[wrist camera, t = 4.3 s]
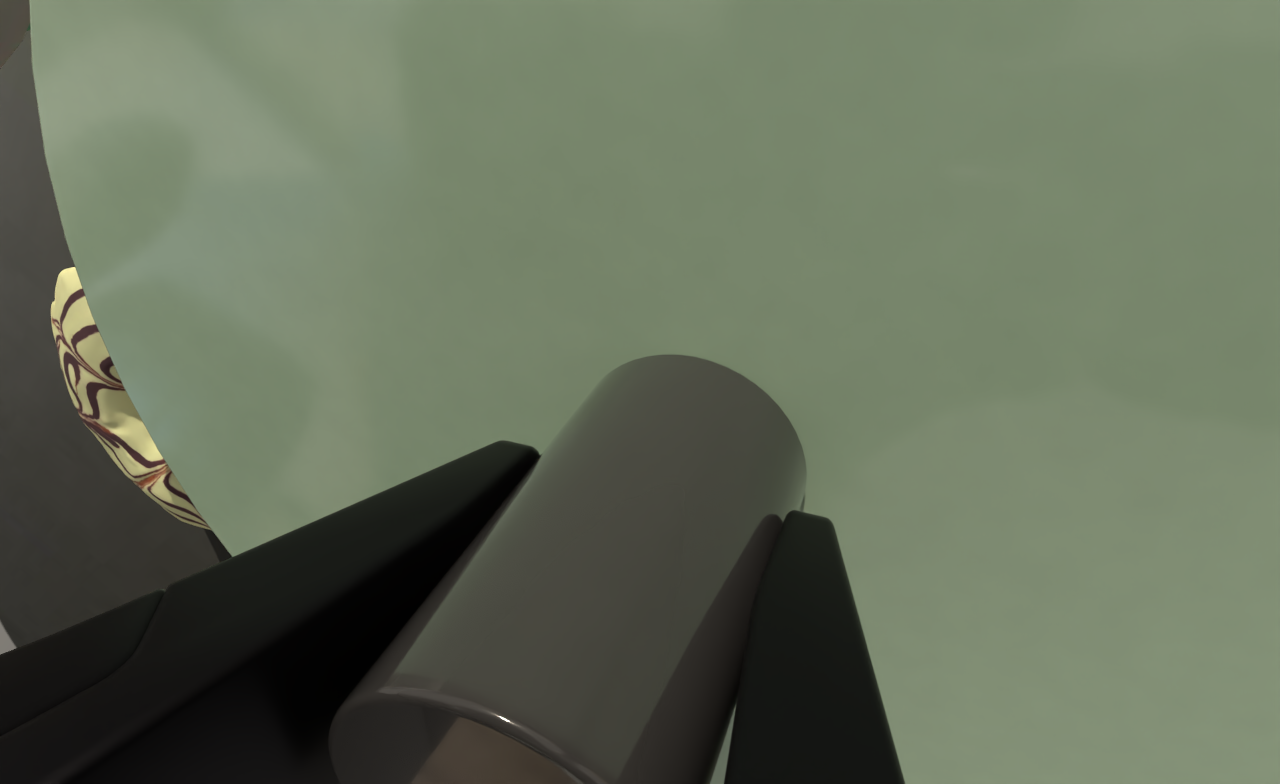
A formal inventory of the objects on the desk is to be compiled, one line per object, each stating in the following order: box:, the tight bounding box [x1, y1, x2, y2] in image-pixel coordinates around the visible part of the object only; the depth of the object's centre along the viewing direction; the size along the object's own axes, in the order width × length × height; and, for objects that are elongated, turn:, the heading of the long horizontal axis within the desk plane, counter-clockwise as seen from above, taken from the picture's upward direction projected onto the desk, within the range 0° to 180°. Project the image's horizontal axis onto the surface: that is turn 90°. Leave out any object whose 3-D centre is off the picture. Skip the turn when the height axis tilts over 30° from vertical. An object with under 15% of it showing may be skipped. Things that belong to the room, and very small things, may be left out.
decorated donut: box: [51, 267, 211, 530], centre depth 27 cm, size 10×11×4 cm
